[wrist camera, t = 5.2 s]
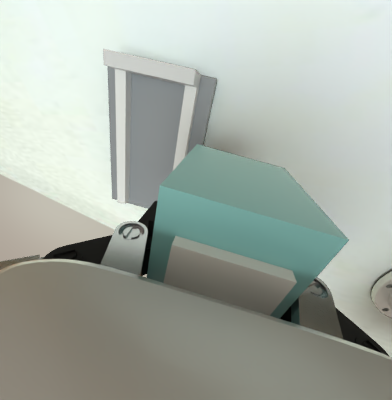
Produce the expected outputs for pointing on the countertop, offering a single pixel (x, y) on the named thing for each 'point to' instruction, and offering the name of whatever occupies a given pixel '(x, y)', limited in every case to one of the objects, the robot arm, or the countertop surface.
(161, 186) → the block
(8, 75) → the countertop surface
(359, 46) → the countertop surface
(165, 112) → the rail base
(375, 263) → the countertop surface
